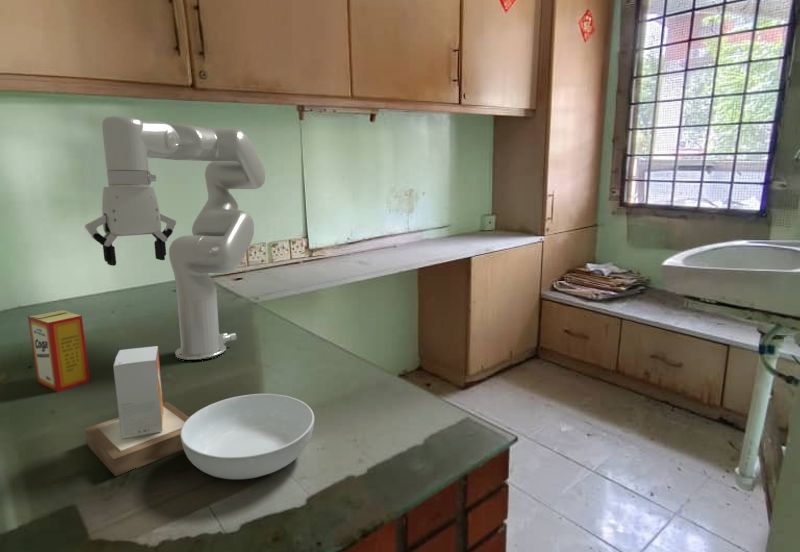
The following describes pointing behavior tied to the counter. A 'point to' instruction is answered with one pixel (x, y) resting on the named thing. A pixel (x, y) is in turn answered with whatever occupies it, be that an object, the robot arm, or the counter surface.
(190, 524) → the counter surface
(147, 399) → the small box
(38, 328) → the baking soda box
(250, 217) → the robot arm
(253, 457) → the serving bowl
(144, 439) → the picture frame
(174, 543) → the counter surface
